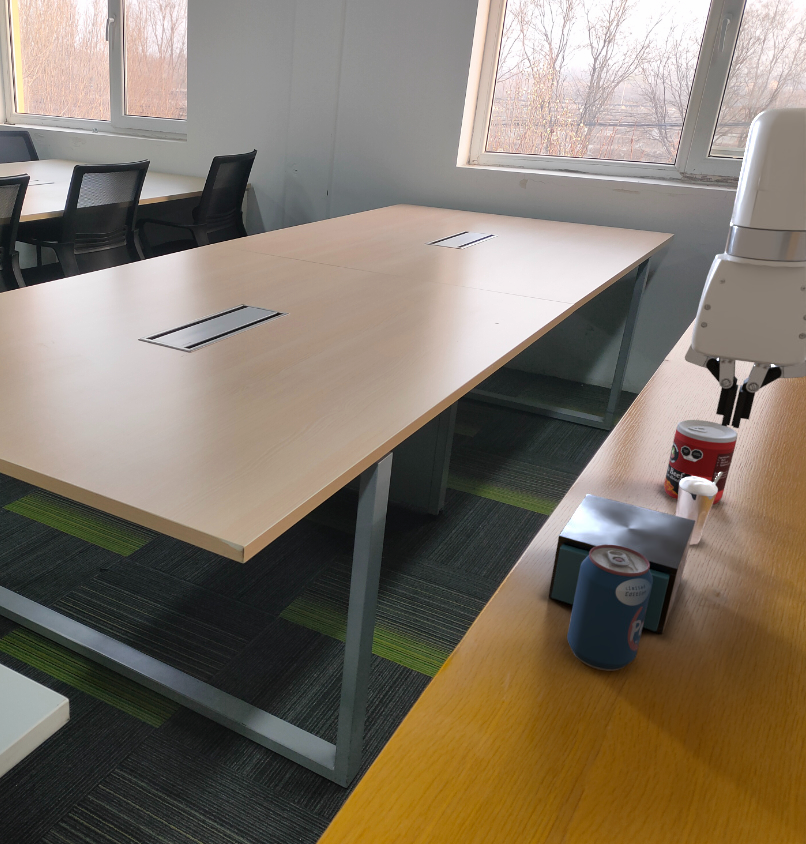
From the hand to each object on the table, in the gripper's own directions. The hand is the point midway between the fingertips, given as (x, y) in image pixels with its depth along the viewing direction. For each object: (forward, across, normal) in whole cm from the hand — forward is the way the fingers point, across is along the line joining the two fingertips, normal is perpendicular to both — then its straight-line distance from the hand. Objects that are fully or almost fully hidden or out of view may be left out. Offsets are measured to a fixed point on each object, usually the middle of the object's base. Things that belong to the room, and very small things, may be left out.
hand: (730, 422), depth 84 cm
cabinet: (+25, +8, -3) cm, 26 cm away
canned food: (+25, +3, -37) cm, 45 cm away
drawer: (+24, +8, 0) cm, 25 cm away
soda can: (+25, +7, +12) cm, 28 cm away
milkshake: (+25, +2, -22) cm, 33 cm away
